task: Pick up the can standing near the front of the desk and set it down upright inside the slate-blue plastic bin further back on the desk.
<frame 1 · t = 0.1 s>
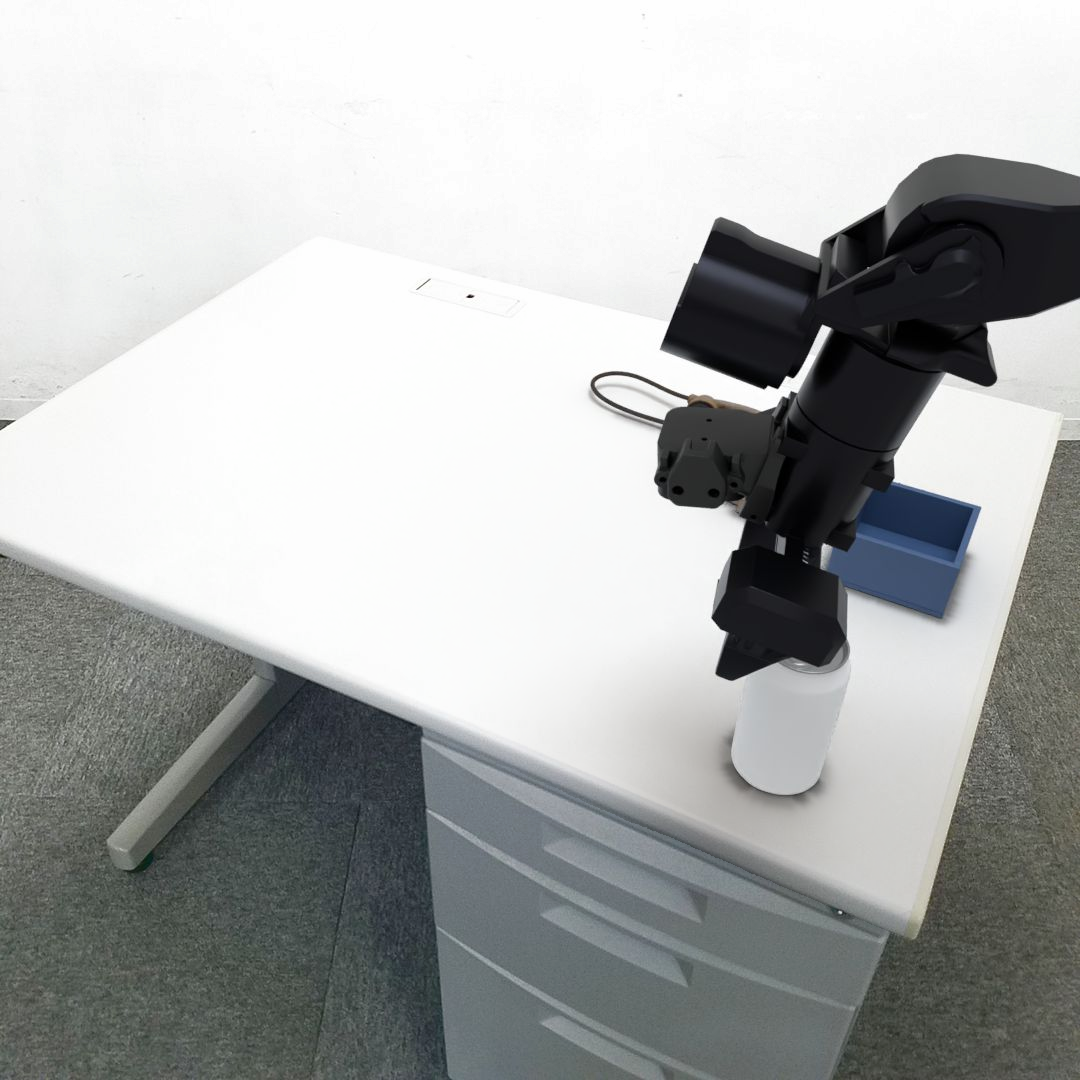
hand: (731, 623, 58), 15 cm above the table, tool pointing down, fingers open, 9 cm apart
bin: (895, 566, 88), on the table
can: (774, 764, 70), on the table
telephone: (708, 452, 103), on the table
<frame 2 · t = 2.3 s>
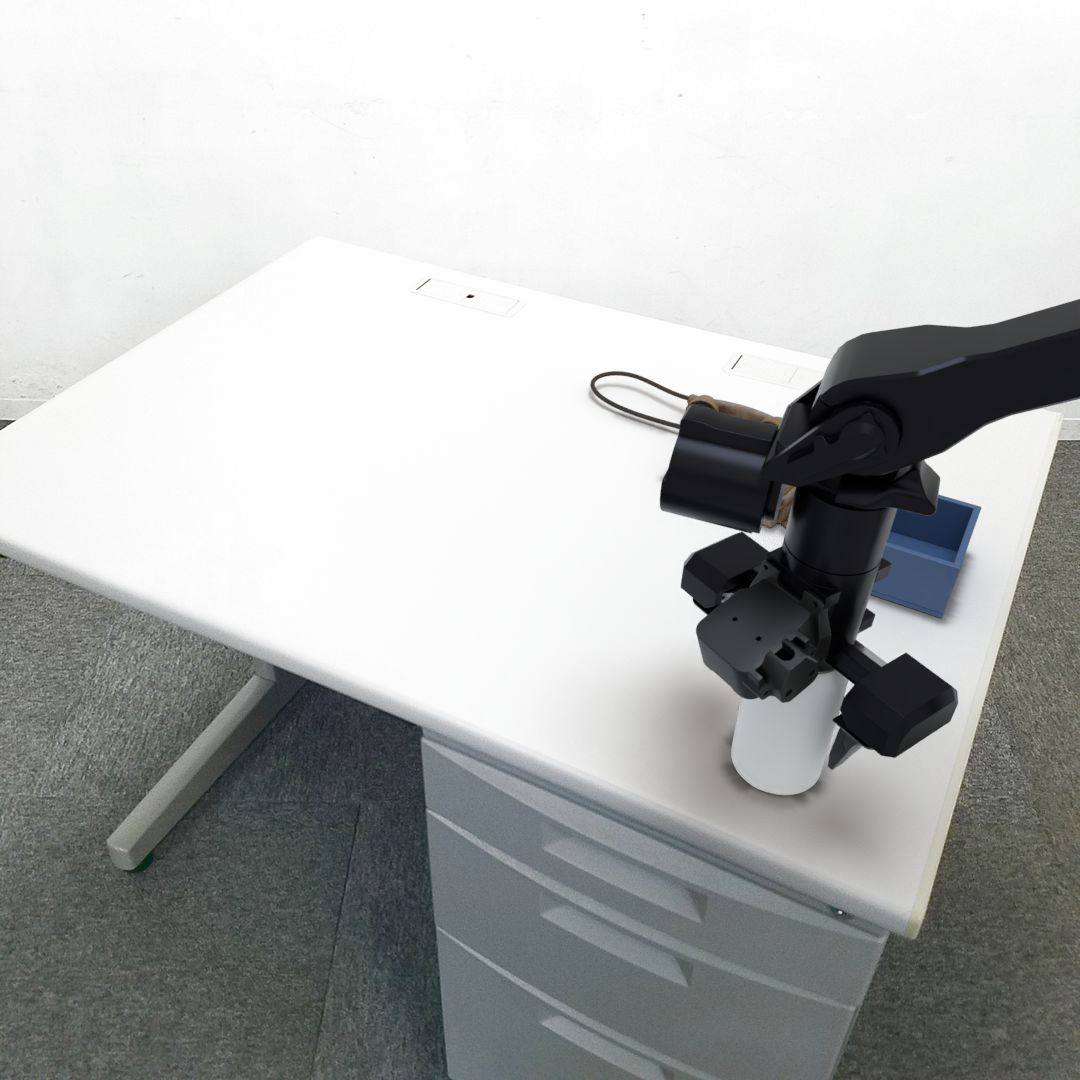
hand: (784, 721, 67), 4 cm above the table, tool pointing down
can: (774, 764, 70), on the table, touching gripper
everything else where it was.
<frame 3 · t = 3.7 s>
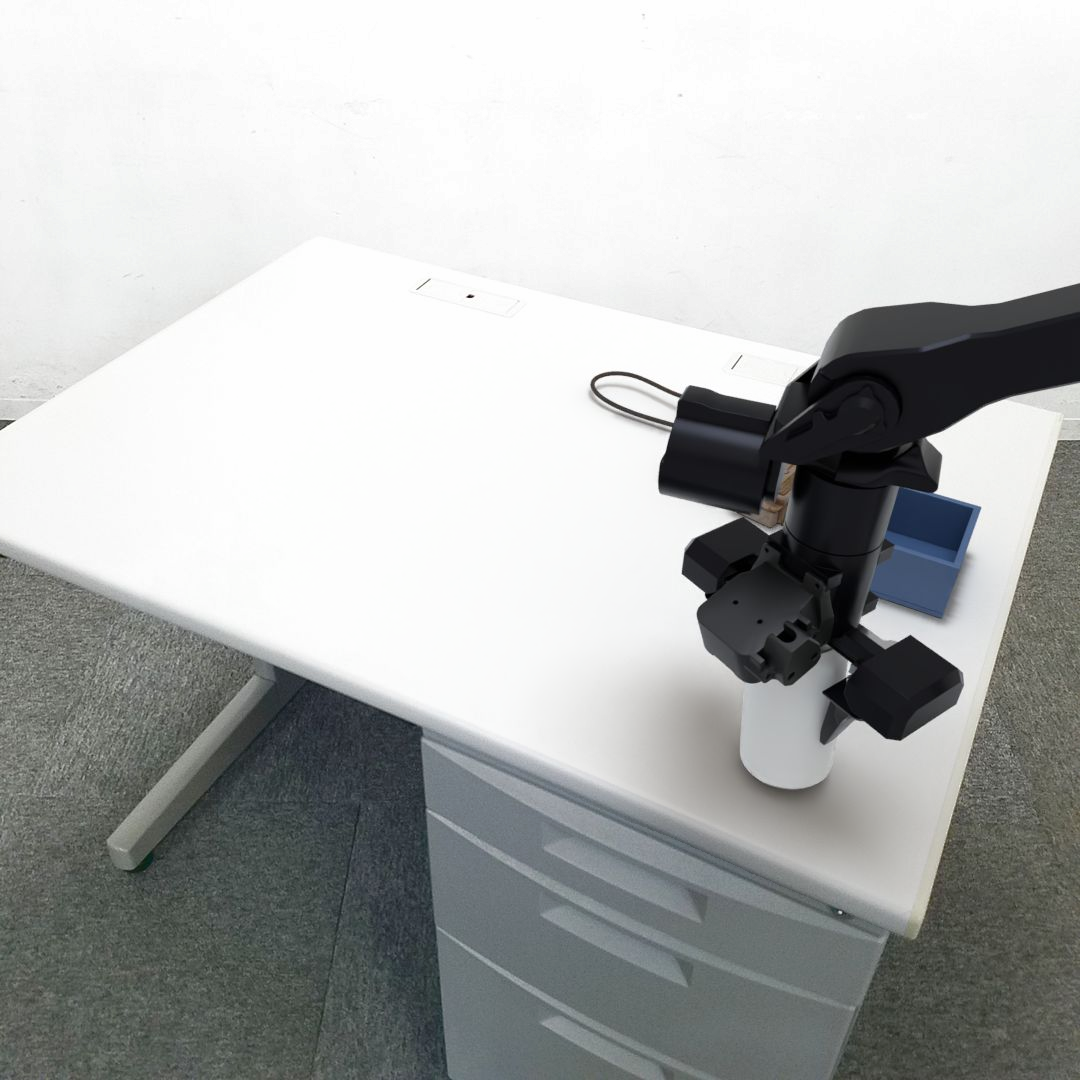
hand: (788, 708, 66), 6 cm above the table, tool pointing down, fingers closed on can, 6 cm apart
can: (785, 760, 69), point 1 cm above the table, touching gripper
everything else where it was.
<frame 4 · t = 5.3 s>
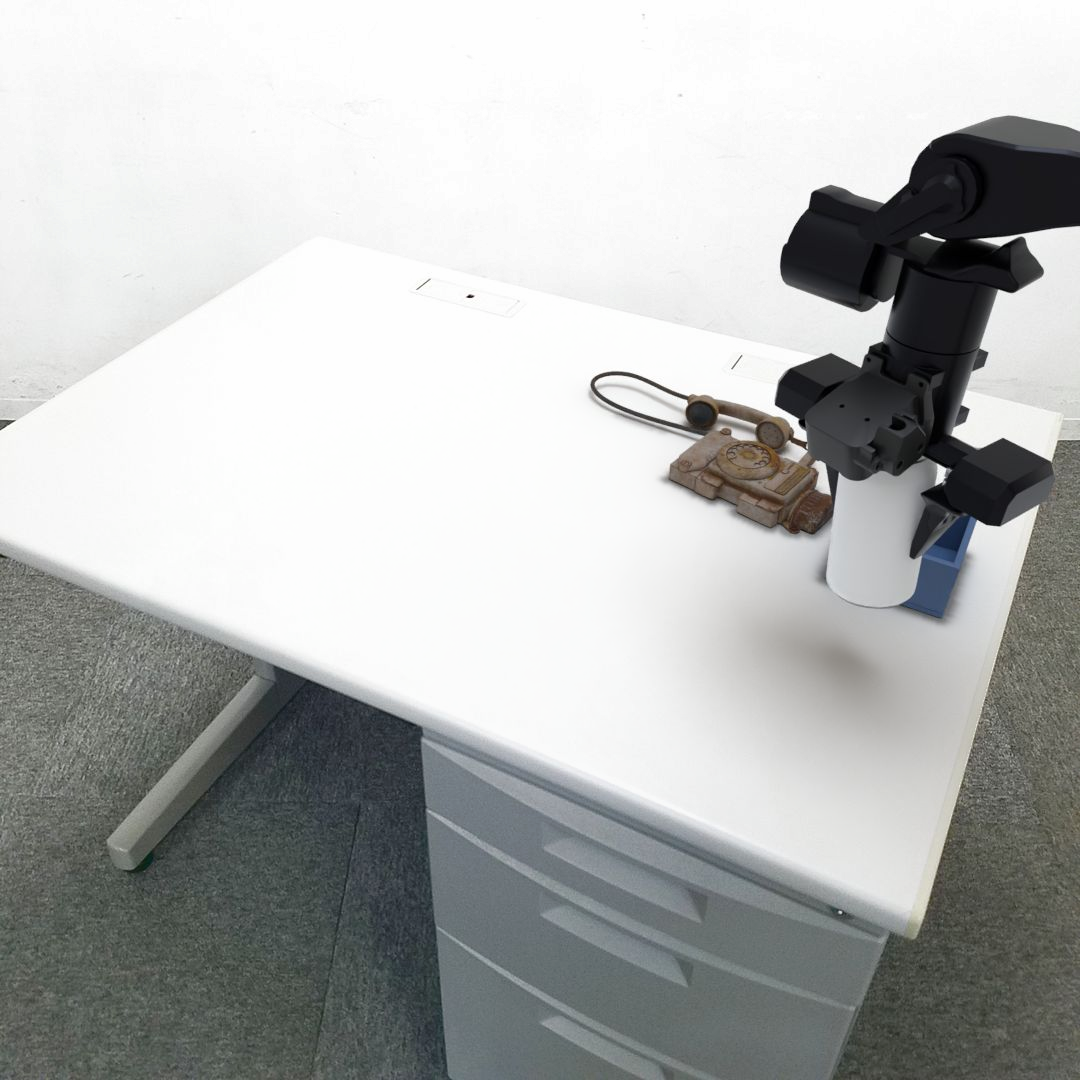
hand: (876, 532, 70), 13 cm above the table, tool pointing down, fingers closed on can, 6 cm apart
can: (869, 587, 73), point 8 cm above the table, touching gripper
everything else where it was.
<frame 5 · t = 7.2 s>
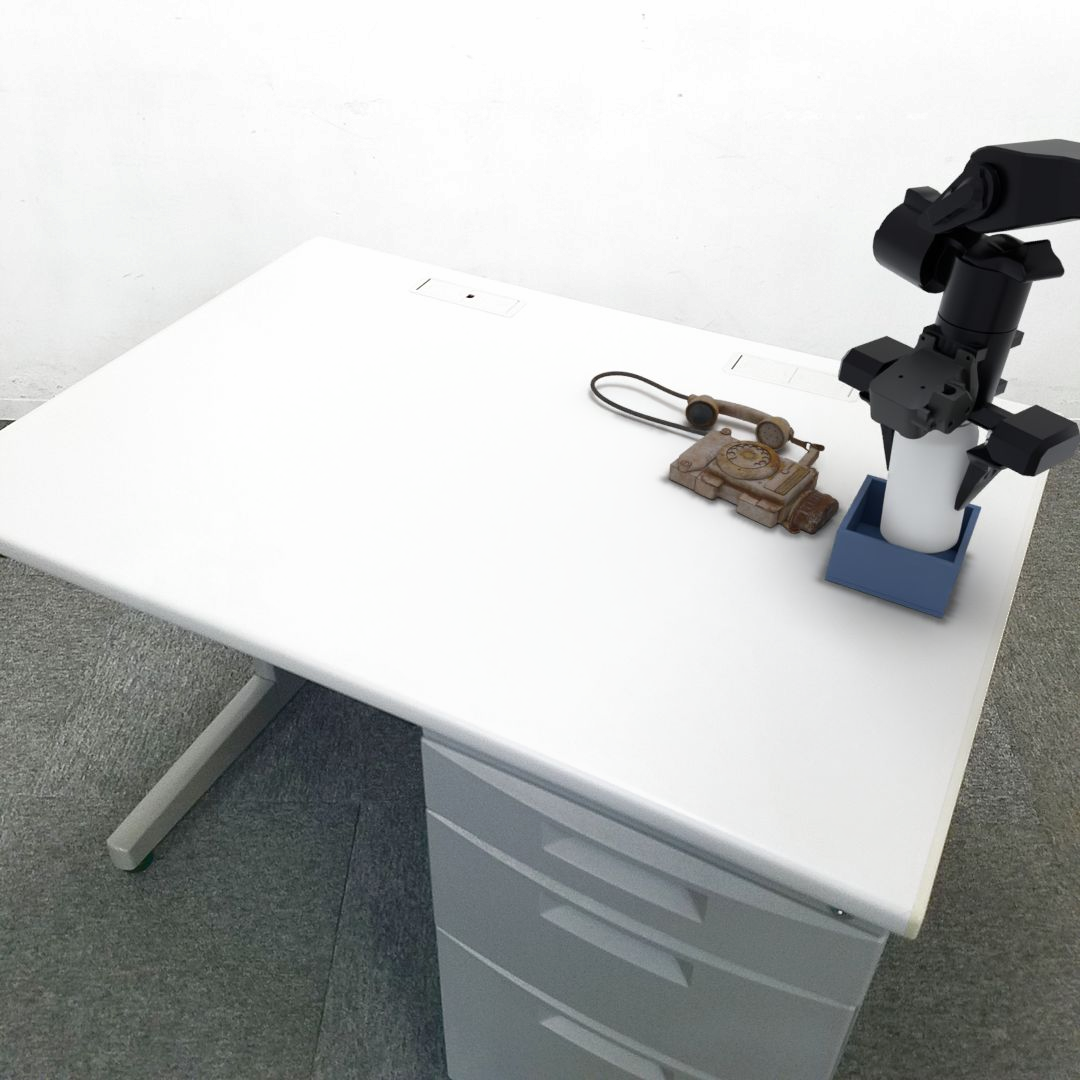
hand: (924, 489, 82), 9 cm above the table, tool pointing down, fingers closed on can, 6 cm apart
can: (917, 538, 84), point 4 cm above the table, touching gripper
everything else where it was.
when the fingers open (6 cm above the table, at t = 8.6 s): can stays where it is, resting on bin.
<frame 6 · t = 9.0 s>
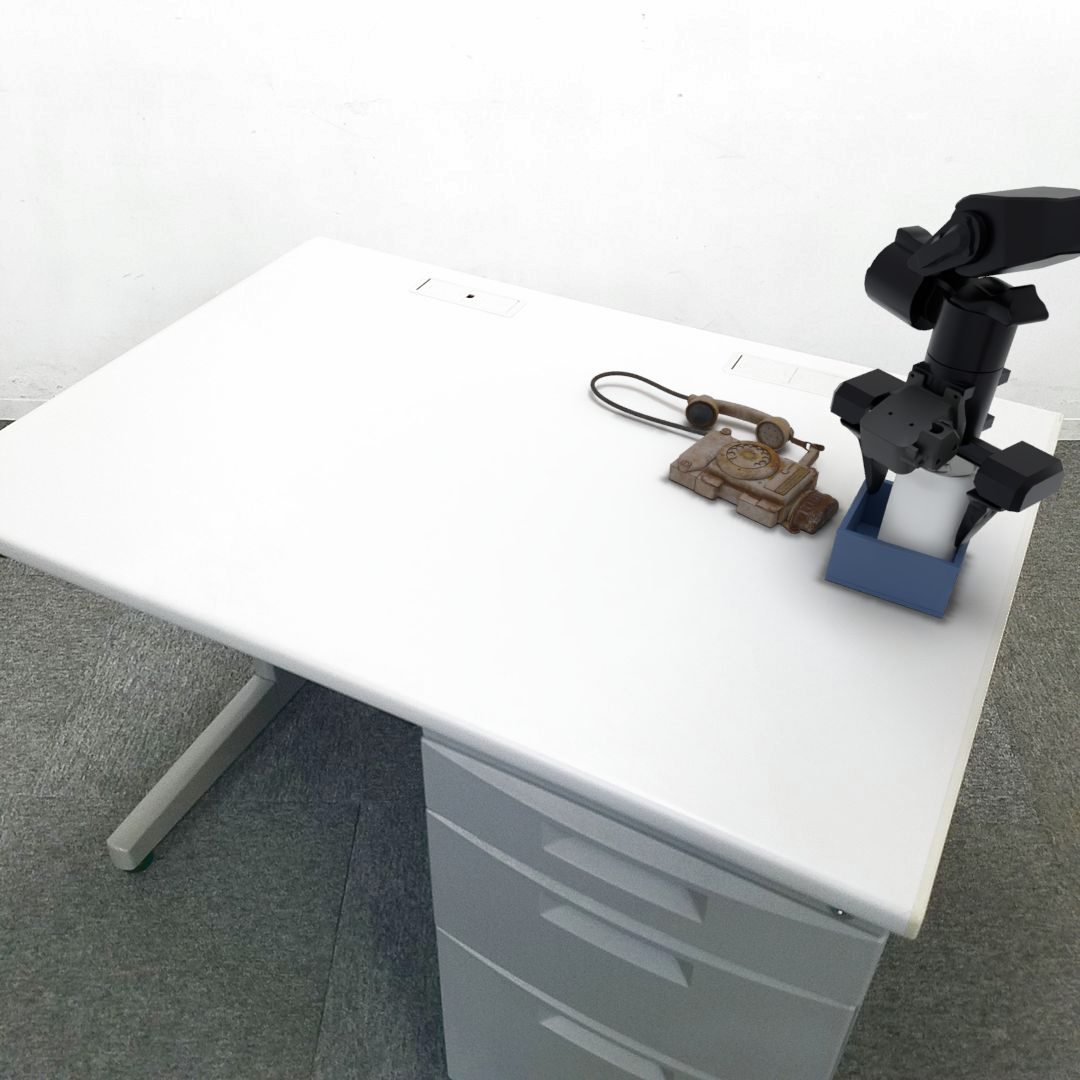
hand: (914, 518, 84), 6 cm above the table, tool pointing down, fingers open, 9 cm apart
can: (907, 571, 87), resting on bin
everything else where it was.
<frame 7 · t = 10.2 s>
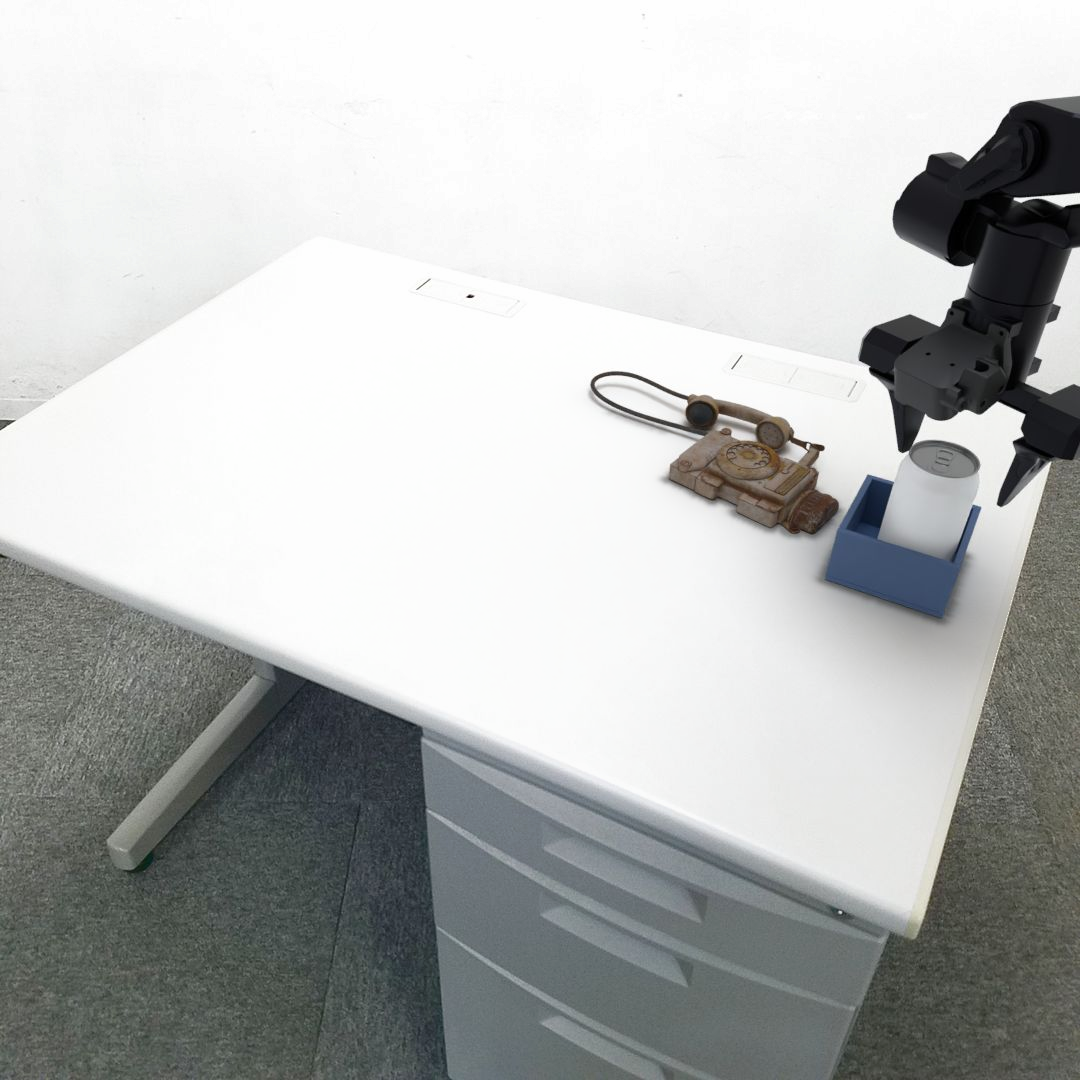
hand: (951, 477, 77), 13 cm above the table, tool pointing down, fingers open, 9 cm apart
can: (907, 571, 87), resting on bin, touching gripper
everything else where it was.
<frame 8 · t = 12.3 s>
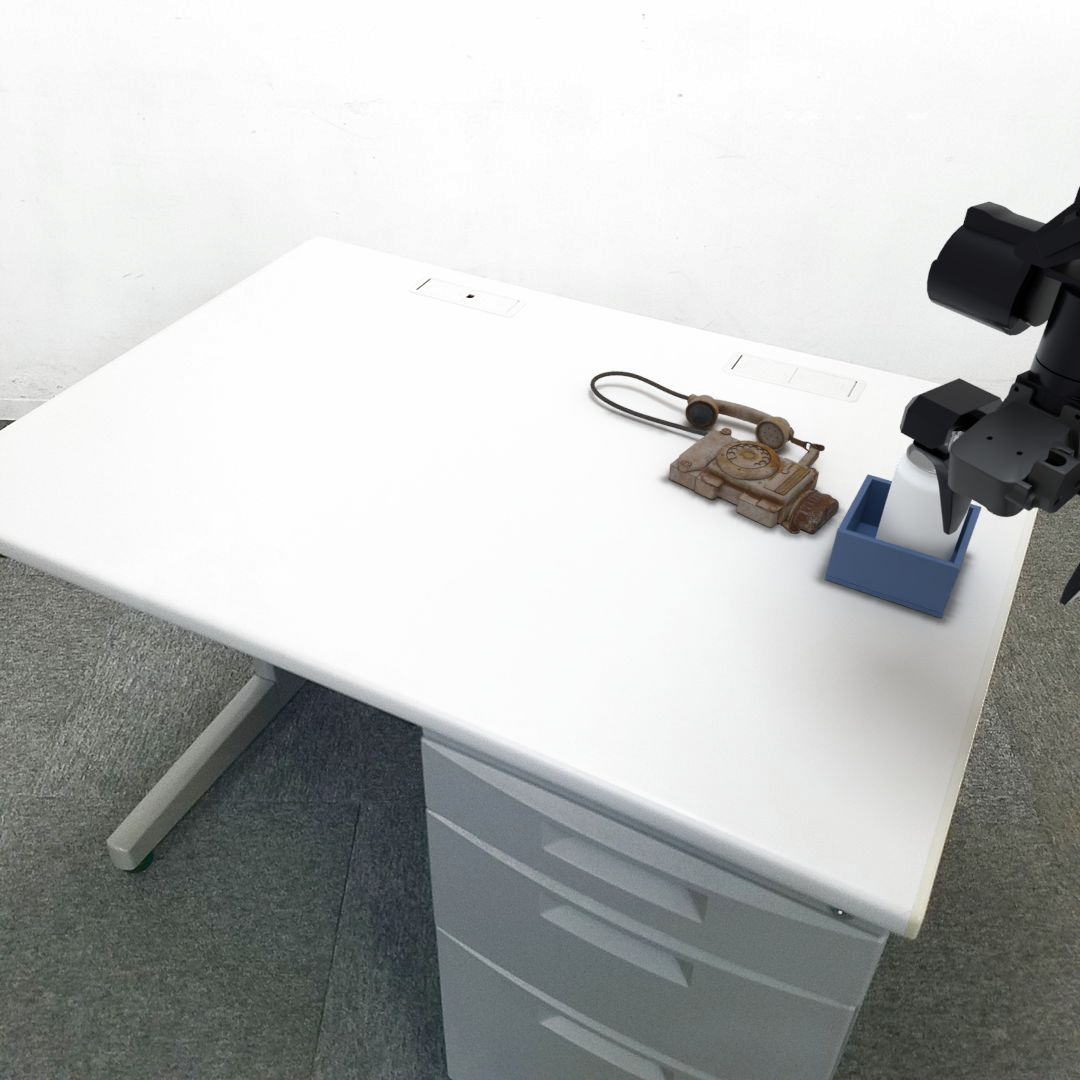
hand: (1005, 565, 67), 13 cm above the table, tool pointing down, fingers open, 9 cm apart
can: (905, 571, 87), resting on bin
everything else where it was.
at the end: can 1.1 cm off-centre in the bin, point 0.3 cm above the bin's base; can tilted 0° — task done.
